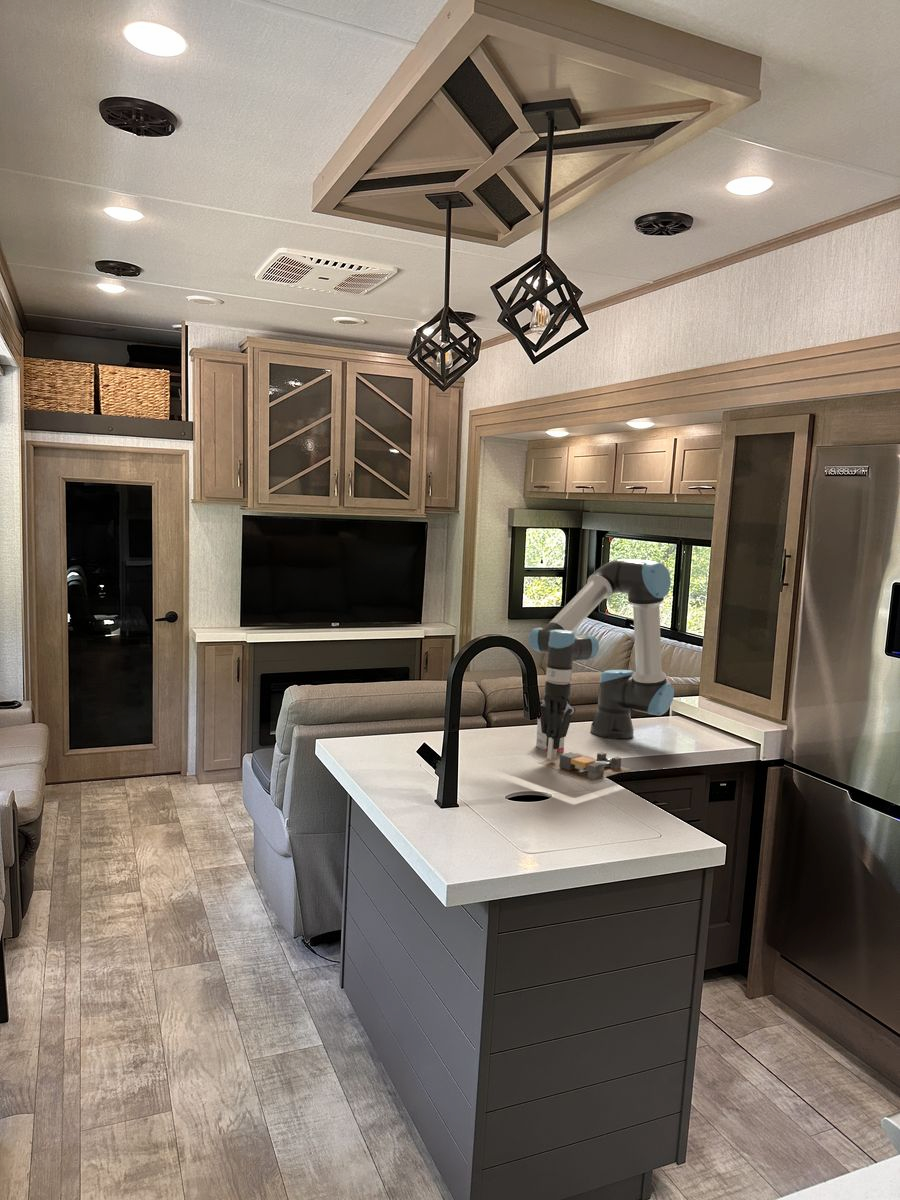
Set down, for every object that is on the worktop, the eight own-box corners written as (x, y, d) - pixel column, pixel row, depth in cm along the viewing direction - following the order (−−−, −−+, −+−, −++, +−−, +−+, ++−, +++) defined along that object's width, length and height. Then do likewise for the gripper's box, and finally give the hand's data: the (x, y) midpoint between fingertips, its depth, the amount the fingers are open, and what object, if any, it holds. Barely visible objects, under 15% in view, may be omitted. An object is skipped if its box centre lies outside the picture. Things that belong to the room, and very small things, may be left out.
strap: (605, 763, 253) (606, 757, 253) (614, 766, 251) (614, 760, 251) (574, 768, 242) (575, 762, 242) (583, 771, 240) (583, 764, 240)
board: (576, 757, 264) (578, 741, 263) (630, 774, 250) (631, 757, 249) (536, 767, 250) (538, 750, 249) (591, 785, 236) (592, 767, 235)
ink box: (564, 756, 265) (567, 719, 263) (551, 757, 262) (555, 721, 261) (546, 748, 272) (549, 713, 271) (534, 750, 269) (537, 714, 268)
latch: (569, 764, 249) (570, 752, 249) (594, 772, 243) (595, 759, 242) (559, 767, 246) (560, 754, 245) (583, 775, 239) (584, 762, 239)
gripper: (533, 678, 250) (527, 755, 253) (568, 687, 241) (561, 766, 244) (548, 676, 256) (542, 751, 258) (583, 684, 247) (576, 761, 249)
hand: (551, 758), depth 251 cm, fingers closed
